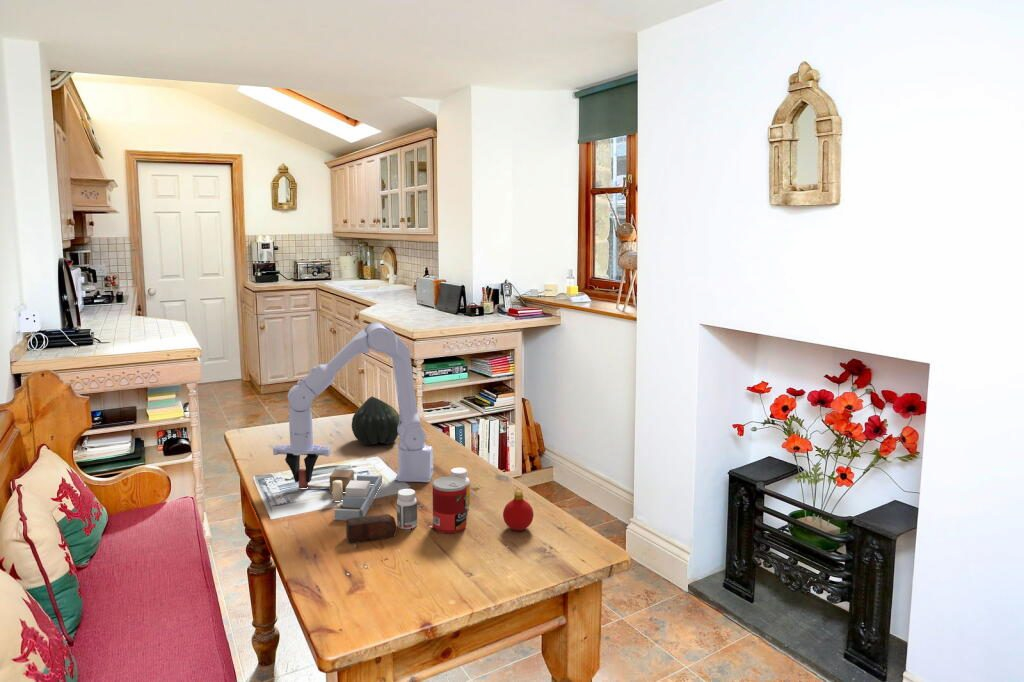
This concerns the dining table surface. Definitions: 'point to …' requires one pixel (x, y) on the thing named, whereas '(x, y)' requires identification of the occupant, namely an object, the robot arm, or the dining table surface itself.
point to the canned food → (449, 504)
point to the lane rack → (359, 500)
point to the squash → (375, 422)
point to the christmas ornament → (518, 513)
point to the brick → (370, 528)
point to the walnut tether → (336, 475)
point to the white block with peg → (350, 489)
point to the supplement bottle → (463, 474)
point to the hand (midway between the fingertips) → (303, 480)
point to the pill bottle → (406, 509)
